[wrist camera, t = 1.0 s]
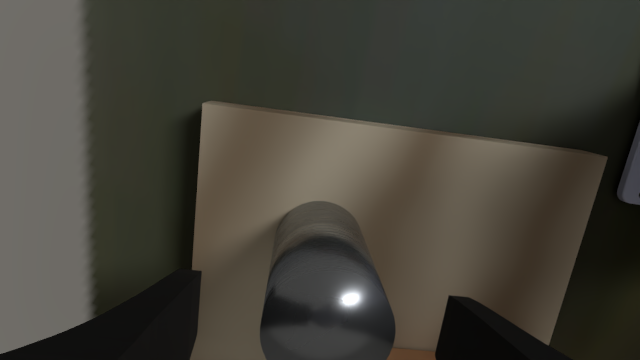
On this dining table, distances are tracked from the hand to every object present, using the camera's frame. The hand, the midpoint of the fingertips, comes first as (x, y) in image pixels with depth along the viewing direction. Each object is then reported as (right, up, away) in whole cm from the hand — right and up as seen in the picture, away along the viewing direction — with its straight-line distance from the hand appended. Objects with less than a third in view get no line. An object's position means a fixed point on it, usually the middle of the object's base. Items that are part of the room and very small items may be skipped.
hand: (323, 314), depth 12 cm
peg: (0, +1, +5) cm, 5 cm away
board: (+2, -4, +8) cm, 10 cm away
